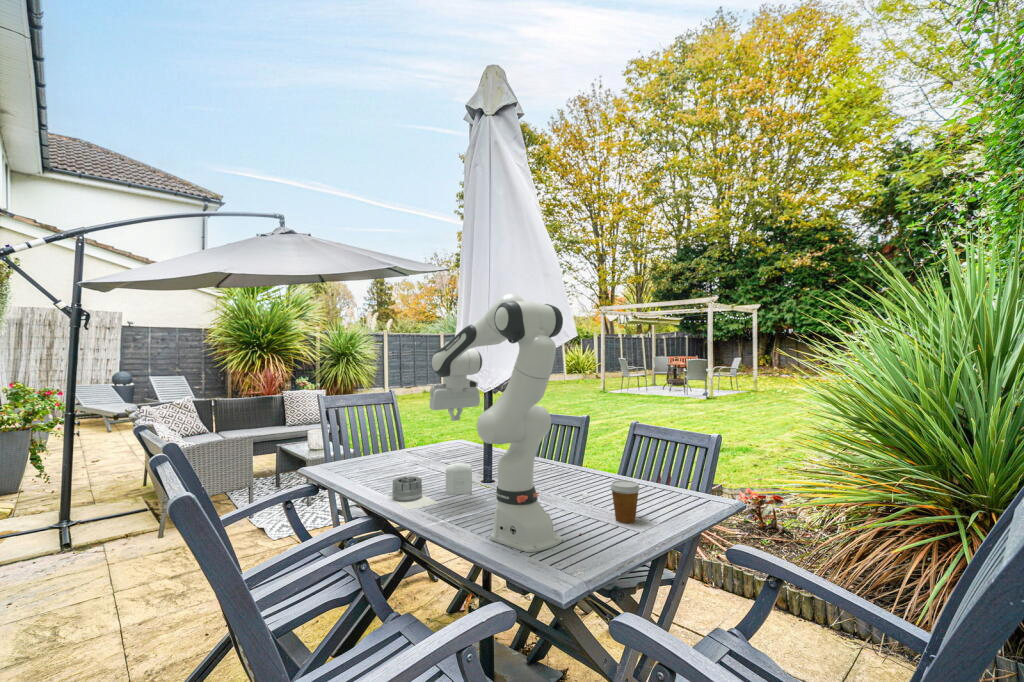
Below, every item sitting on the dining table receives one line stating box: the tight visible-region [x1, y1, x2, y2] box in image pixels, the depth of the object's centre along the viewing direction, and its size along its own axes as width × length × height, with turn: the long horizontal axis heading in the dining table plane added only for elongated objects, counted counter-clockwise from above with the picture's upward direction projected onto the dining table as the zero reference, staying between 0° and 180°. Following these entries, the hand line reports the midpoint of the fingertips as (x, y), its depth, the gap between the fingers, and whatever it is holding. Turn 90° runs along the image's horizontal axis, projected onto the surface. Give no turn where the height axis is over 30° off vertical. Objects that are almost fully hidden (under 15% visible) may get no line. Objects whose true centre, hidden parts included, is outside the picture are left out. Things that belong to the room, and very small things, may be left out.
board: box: [386, 494, 439, 511], centre depth 181 cm, size 19×12×1 cm, turn 38°
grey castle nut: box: [391, 475, 423, 502], centre depth 184 cm, size 11×11×6 cm
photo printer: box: [445, 462, 473, 496], centre depth 190 cm, size 10×4×12 cm, turn 98°
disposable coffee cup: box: [609, 479, 641, 524], centre depth 160 cm, size 10×10×12 cm
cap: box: [400, 476, 414, 483], centre depth 184 cm, size 5×5×4 cm
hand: (455, 420), depth 181 cm, fingers closed
